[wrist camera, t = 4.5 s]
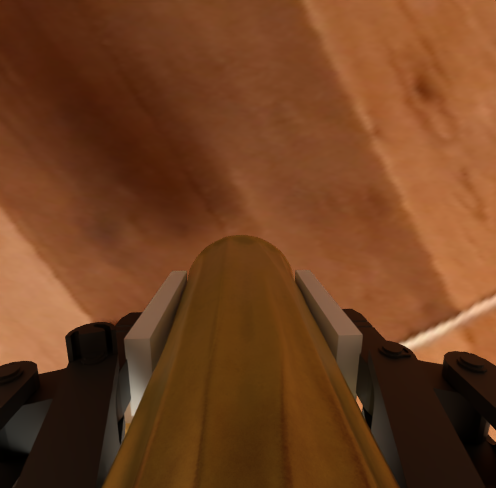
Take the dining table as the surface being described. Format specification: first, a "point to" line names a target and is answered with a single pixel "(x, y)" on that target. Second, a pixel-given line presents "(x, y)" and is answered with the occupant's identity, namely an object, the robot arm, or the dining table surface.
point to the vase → (247, 389)
